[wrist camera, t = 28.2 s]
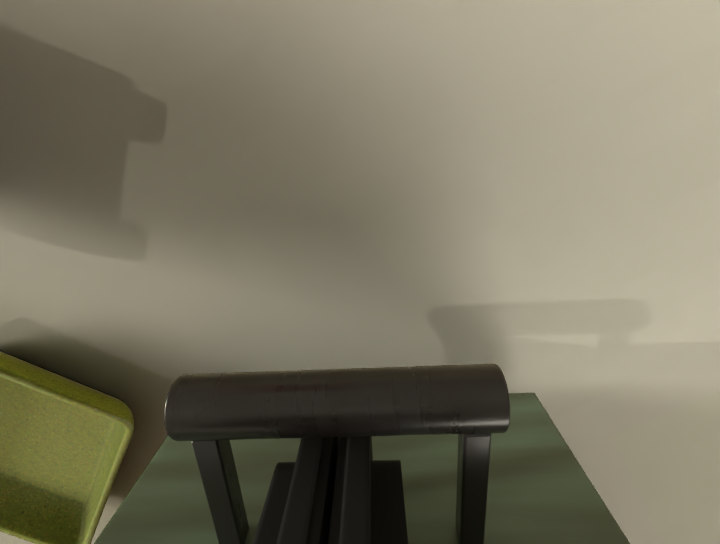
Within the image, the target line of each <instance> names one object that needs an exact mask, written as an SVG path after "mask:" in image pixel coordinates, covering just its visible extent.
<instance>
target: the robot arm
mask: <svg viewBox="0 0 720 544" xmlns="http://www.w3.org/2000/svg"><path fill="white" fill-rule="evenodd" d="M253 544H408V536H407V525H406V514H405V503H404V492H403V481H402V470H401V461H400V460H373V453H372V436H365V437H340V438H339V437H325V438H301V441H300V446H299V450H298V454H297V458H296V462H278V463H277V465H276V467H275V470H274V473H273V476H272V480H271V483H270V486H269V490H268V493H267V497H266V500H265V503H264V507H263V510H262V513H261V517H260V520H259V524H258V527H257V530H256V534H255V537H254V541H253Z"/></svg>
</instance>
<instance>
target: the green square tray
mask: <svg viewBox="0 0 720 544" xmlns="http://www.w3.org/2000/svg"><path fill="white" fill-rule="evenodd" d="M133 432H134V420H133V415H132V412H131V410H130V409H129V407H128V406H127V405H126V404H125V403H124V402H123V401H121V400H120V399H117V398H115V397H112V396H110V395H107V394H105V393H102V392H100V391H97V390H95V389H92V388H90V387H87V386H85V385H82V384H80V383H77V382H75V381H72V380H70V379H67V378H65V377H62V376H60V375H57V374H55V373H52V372H50V371H48V370H45V369H42V368H40V367H38V366H35V365H33V364H30V363H28V362H25V361H23V360H20V359H18V358H16V357H13V356H11V355H8V354H6V353H3V352H1V351H0V531H1V532H4V533H6V534H9V535H12V536H16V537H18V538H21V539H24V540H26V541H30V542H32V543H35V544H91V541H92V538H93V536H94V533H95V530H96V528H97V525H98V522H99V520H100V517H101V515H102V512H103V509H104V507H105V504H106V502H107V499H108V496H109V494H110V491H111V488H112V486H113V483H114V481H115V478H116V475H117V473H118V470H119V468H120V465H121V463H122V460H123V457H124V455H125V452H126V450H127V447H128V445H129V442H130V440H131V437H132V435H133Z"/></svg>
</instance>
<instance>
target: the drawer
mask: <svg viewBox="0 0 720 544" xmlns="http://www.w3.org/2000/svg"><path fill="white" fill-rule="evenodd" d="M164 423H165V428H166V431H167V434H168V437H167V438H166V440H165V441H164V443H163V444H162V445H161V447H160V448H159V450H158V451H157V453H156V454H155V456H154V457H153V459H152V460H151V461H150V463H149V464H148V466H147V467H146V469H145V470H144V472H143V473H142V475H141V476H140V477H139V479H138V480H137V482H136V483H135V485H134V486H133V488H132V489H131V491H130V492H129V493H128V495H127V496H126V498H125V499H124V501H123V502H122V504H121V505H120V506H119V508H118V509H117V511H116V512H115V514H114V515H113V517H112V518H111V520H110V521H109V522H108V524H107V525H106V527H105V528H104V530H103V531H102V533H101V534H100V536H99V537H98V538H97V540H96V541H95V543H94V544H253V541H254V537H255V534H256V530H257V527H258V524H259V520H260V517H261V513H262V510H263V507H264V503H265V500H266V497H267V493H268V490H269V486H270V483H271V480H272V476H273V473H274V470H275V467H276V465H277V463H278V462H296V458H297V454H298V450H299V446H300V441H301V438H325V437H339V438H340V437H365V436H372V453H373V460H400V461H401V470H402V481H403V492H404V503H405V514H406V525H407V536H408V544H630V543H629V541H628V540H627V538H626V537H625V535H624V533H623V532H622V530H621V529H620V527H619V526H618V524H617V522H616V521H615V519H614V518H613V516H612V515H611V513H610V511H609V510H608V508H607V507H606V505H605V503H604V502H603V500H602V499H601V497H600V496H599V494H598V492H597V491H596V489H595V488H594V486H593V485H592V483H591V481H590V480H589V478H588V477H587V475H586V473H585V472H584V470H583V469H582V467H581V466H580V464H579V462H578V461H577V459H576V458H575V456H574V455H573V453H572V451H571V450H570V448H569V447H568V445H567V444H566V442H565V440H564V439H563V437H562V436H561V434H560V432H559V431H558V429H557V428H556V426H555V425H554V423H553V421H552V420H551V418H550V417H549V415H548V414H547V412H546V410H545V409H544V407H543V406H542V404H541V402H540V401H539V399H538V398H537V396H536V395H535V393H508V388H507V384H506V381H505V378H504V375H503V373H502V371H501V369H500V368H499V366H498V365H496V364H471V365H442V366H413V367H384V368H356V369H327V370H298V371H269V372H240V373H211V374H185V375H182V376H180V377H178V378H177V379H176V380H175V381H174V383H173V384H172V386H171V388H170V390H169V392H168V395H167V398H166V402H165V409H164Z"/></svg>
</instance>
